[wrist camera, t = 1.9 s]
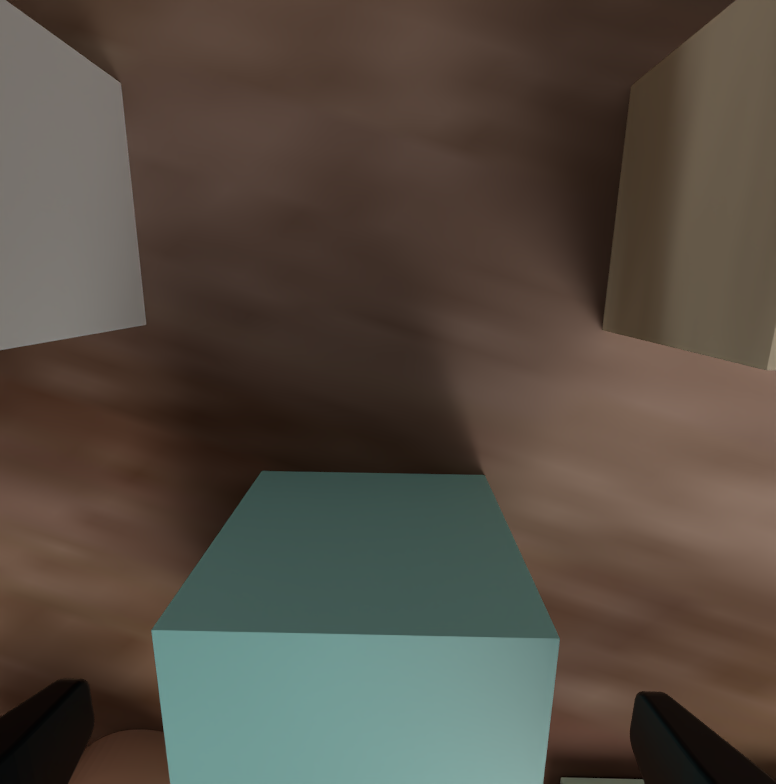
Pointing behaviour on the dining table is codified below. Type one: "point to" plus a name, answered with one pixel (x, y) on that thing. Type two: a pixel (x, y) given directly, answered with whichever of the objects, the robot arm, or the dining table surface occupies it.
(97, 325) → the grey plastic block
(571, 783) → the sage pad
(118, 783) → the terracotta cylinder
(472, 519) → the teal block
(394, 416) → the dining table surface
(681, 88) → the birch block
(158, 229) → the dining table surface
